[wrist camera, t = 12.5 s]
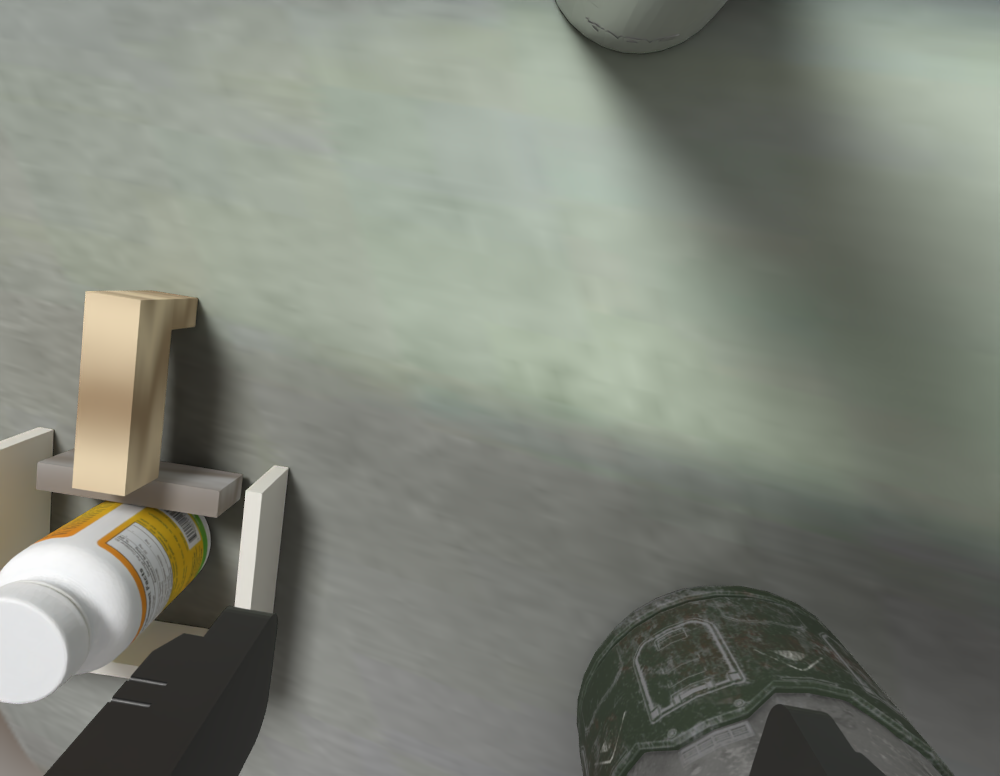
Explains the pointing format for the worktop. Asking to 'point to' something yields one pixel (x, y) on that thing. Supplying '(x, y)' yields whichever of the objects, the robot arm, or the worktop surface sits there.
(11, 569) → the supplement bottle
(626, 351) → the worktop surface
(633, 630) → the canister
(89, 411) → the scraper
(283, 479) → the box
